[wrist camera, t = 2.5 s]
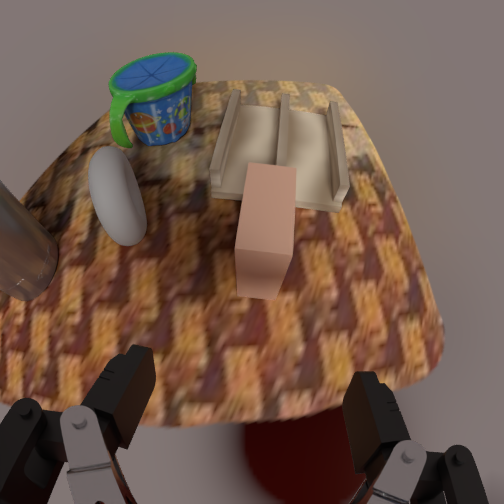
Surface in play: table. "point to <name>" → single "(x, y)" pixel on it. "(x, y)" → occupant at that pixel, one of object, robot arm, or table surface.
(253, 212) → the pink rectangular block
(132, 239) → the grey ring
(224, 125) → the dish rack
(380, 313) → the table surface
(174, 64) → the snack cup
